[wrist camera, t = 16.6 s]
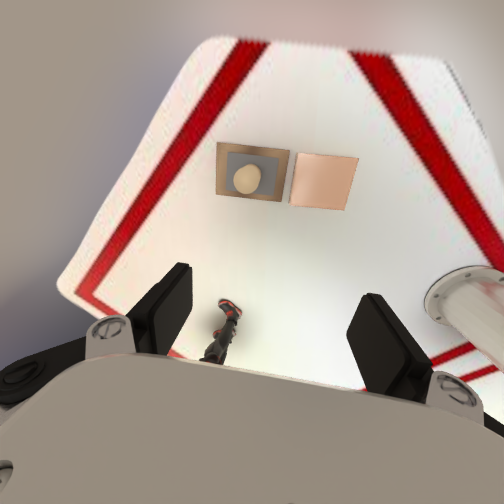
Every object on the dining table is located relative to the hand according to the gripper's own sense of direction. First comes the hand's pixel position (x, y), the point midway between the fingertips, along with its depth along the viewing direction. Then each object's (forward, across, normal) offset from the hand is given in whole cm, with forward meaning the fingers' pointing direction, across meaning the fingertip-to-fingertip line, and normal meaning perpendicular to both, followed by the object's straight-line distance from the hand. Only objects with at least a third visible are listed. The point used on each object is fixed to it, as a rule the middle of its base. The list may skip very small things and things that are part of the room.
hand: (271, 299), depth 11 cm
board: (+23, +4, -4) cm, 24 cm away
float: (+22, +4, -4) cm, 23 cm away
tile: (+23, -10, -5) cm, 25 cm away
